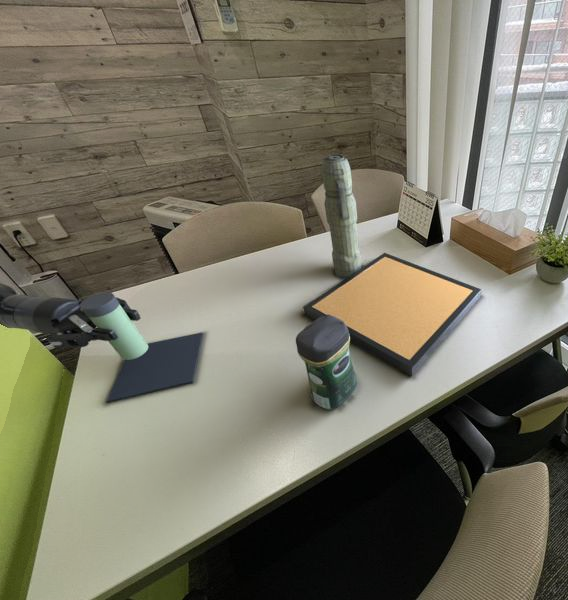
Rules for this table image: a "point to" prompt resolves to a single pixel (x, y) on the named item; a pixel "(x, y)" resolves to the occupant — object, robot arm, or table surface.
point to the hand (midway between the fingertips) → (126, 325)
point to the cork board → (397, 309)
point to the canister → (115, 324)
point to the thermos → (341, 215)
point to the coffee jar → (327, 361)
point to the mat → (158, 368)
